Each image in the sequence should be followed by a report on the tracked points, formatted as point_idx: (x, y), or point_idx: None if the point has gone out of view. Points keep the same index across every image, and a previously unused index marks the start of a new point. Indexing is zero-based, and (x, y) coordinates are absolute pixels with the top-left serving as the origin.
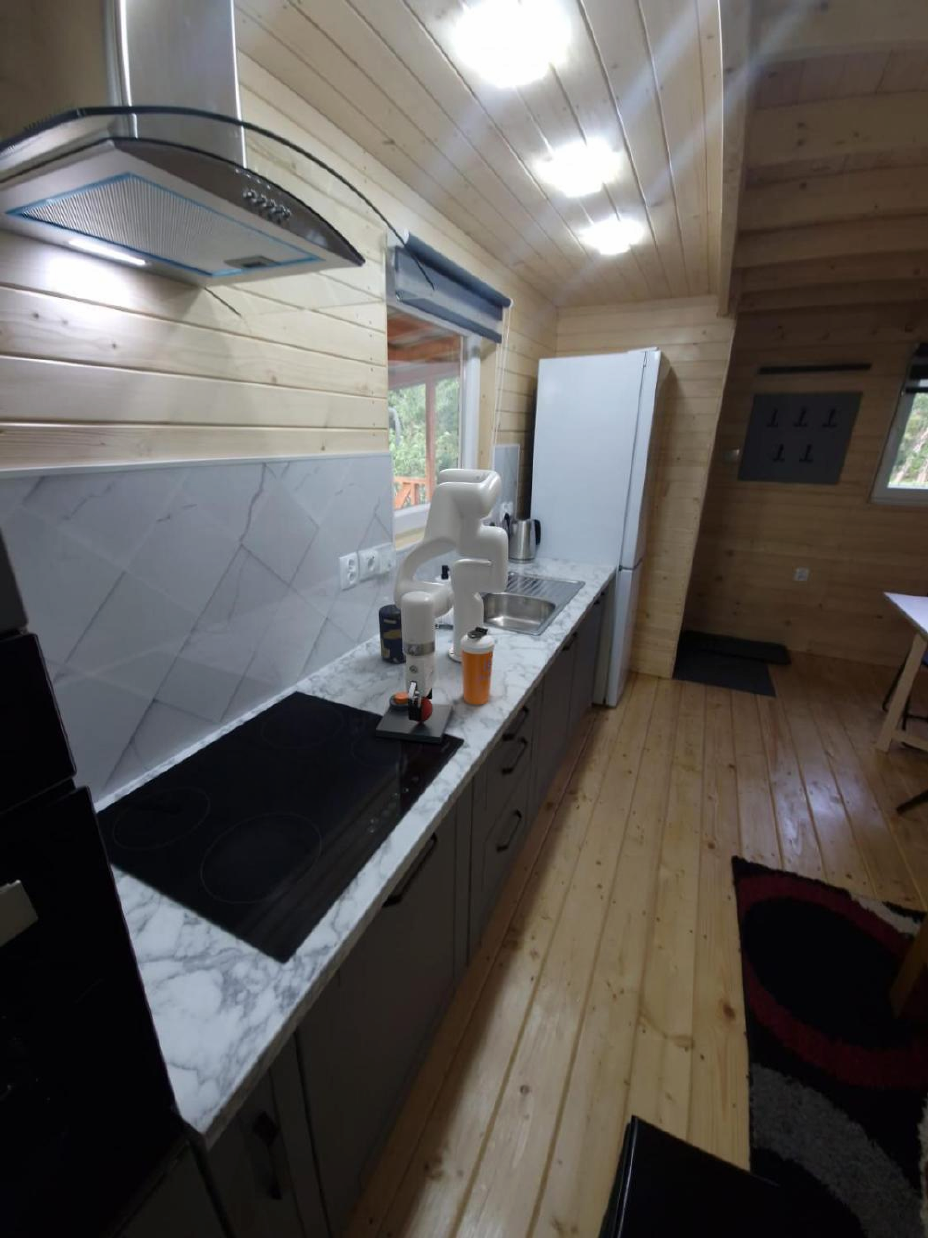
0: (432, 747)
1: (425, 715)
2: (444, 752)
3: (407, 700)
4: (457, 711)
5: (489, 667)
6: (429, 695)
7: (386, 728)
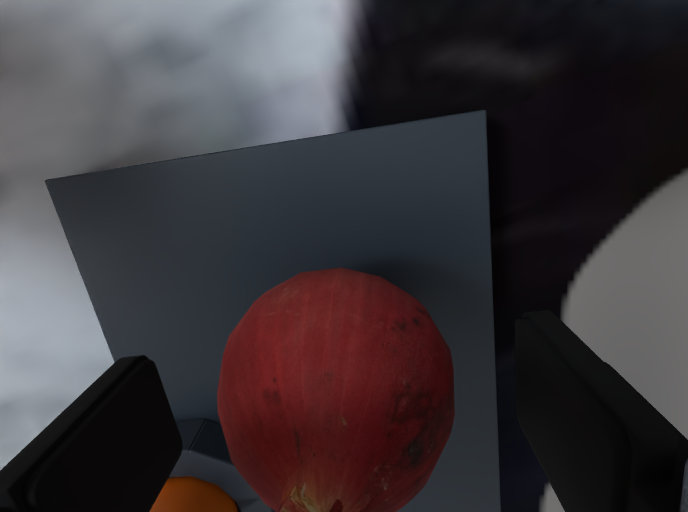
0: (517, 151)
1: (421, 309)
2: (557, 43)
3: (192, 489)
4: (59, 142)
5: None
6: (131, 400)
7: (475, 473)
